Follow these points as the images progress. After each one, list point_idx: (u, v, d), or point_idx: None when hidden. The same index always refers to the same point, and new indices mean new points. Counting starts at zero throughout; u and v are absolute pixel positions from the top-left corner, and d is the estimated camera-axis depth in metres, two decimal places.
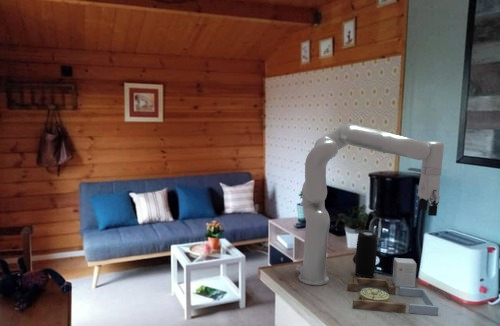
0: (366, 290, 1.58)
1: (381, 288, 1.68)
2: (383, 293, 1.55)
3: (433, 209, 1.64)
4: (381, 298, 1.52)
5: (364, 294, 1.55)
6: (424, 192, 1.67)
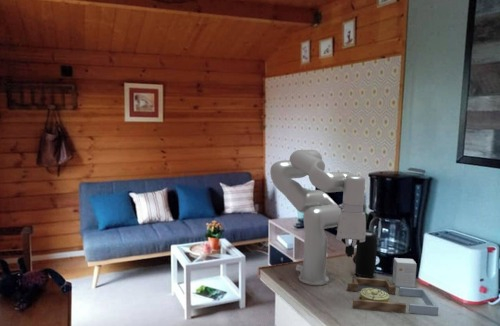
0: (366, 290, 1.58)
1: (381, 288, 1.68)
2: (383, 293, 1.55)
3: None
4: (381, 298, 1.52)
5: (364, 294, 1.55)
6: (358, 232, 1.52)
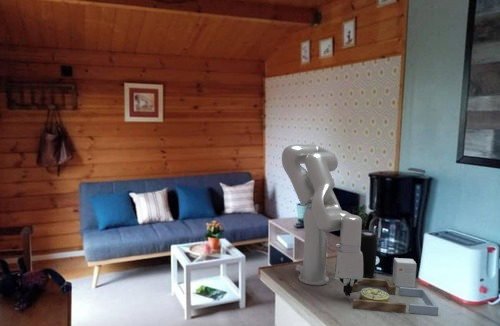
0: (366, 290, 1.58)
1: (381, 288, 1.68)
2: (383, 293, 1.56)
3: (351, 288, 1.57)
4: (381, 298, 1.52)
5: (364, 294, 1.55)
6: (355, 272, 1.53)
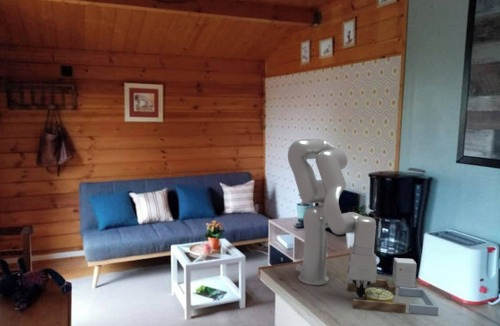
0: (370, 290, 1.58)
1: (381, 288, 1.68)
2: (387, 293, 1.56)
3: None
4: (386, 298, 1.52)
5: (369, 294, 1.55)
6: (368, 274, 1.53)
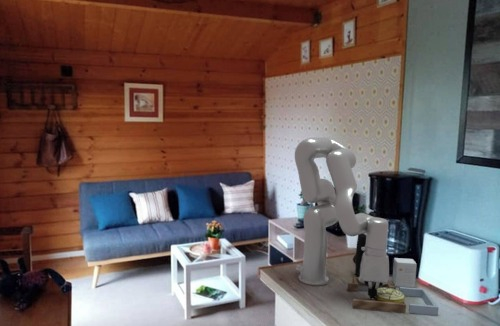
0: (381, 290, 1.59)
1: None
2: (398, 292, 1.57)
3: None
4: (398, 298, 1.53)
5: (380, 294, 1.56)
6: (381, 275, 1.53)
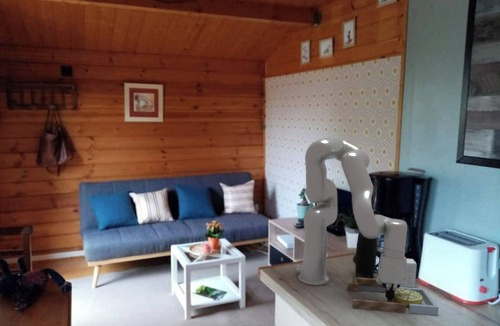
0: (398, 291, 1.58)
1: (381, 288, 1.68)
2: (416, 294, 1.56)
3: None
4: (416, 299, 1.52)
5: (398, 295, 1.55)
6: (399, 277, 1.52)
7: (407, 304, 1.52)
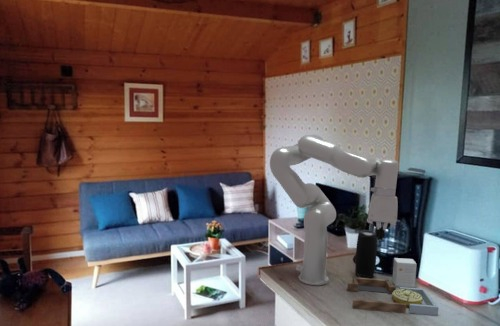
0: (398, 292, 1.58)
1: (381, 288, 1.68)
2: (416, 294, 1.56)
3: None
4: (416, 299, 1.52)
5: (398, 296, 1.55)
6: (389, 216, 1.54)
7: (407, 305, 1.52)
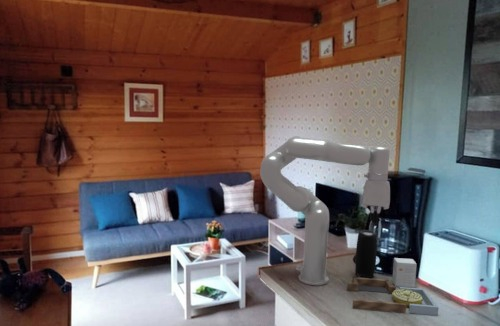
0: (398, 292, 1.58)
1: (381, 288, 1.68)
2: (416, 294, 1.56)
3: None
4: (416, 299, 1.52)
5: (398, 296, 1.55)
6: (382, 199, 1.63)
7: (407, 305, 1.52)
